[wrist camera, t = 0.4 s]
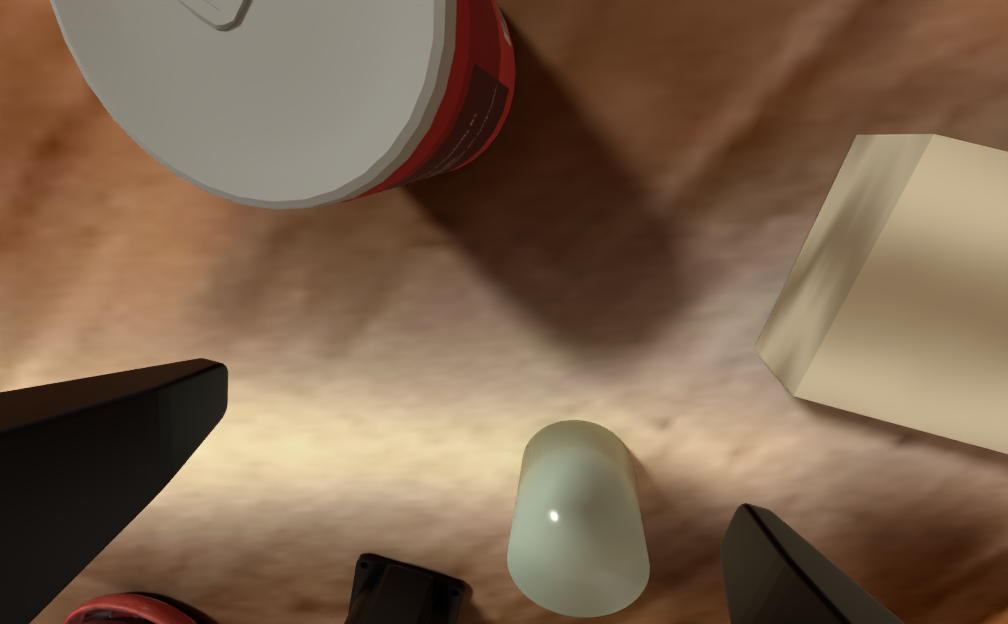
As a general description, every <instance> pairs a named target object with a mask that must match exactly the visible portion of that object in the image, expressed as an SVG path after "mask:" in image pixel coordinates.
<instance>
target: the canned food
mask: <svg viewBox="0 0 1008 624" xmlns="http://www.w3.org/2000/svg"><path fill="white" fill-rule="evenodd" d="M50 2H51V5H52V7H53V10H54V13H55V15H56V18H57V21H58V23H59V26H60V29H61V31H62V34H63V37H64V39H65V42H66V44H67V46H68V48H69V50H70V51H71V53H72V55H73V57H74V59H75V61H76V63H77V65H78V66H79V68H80V70H81V72H82V74H83V76H84V78H85V79H86V81H87V83H88V85H89V86H90V87H91V89H92V90H93V91H94V93H95V94H96V96H97V97H98V98H99V100H100V101H101V103H102V104H103V105H104V107H105V108H106V109H107V111H108V112H109V114H110V115H111V116H112V118H113V119H114V120H115V121H116V122H117V123H118V124H119V125H120V126H121V127H122V128H123V130H124V131H125V132H126V133H127V134H128V135H129V136H130V137H131V138H132V139H133V140H134V141H135V142H136V143H137V144H138V145H139V146H140V147H141V148H142V149H143V150H144V151H145V152H147V153H148V154H149V155H150V156H152V157H153V158H154V159H155V160H157V161H158V162H159V163H161V164H162V165H163V166H164V167H166V168H167V169H168V170H170V171H171V172H172V173H173V174H175V175H177V176H179V177H180V178H182V179H184V180H186V181H188V182H189V183H191V184H193V185H195V186H197V187H198V188H200V189H202V190H204V191H205V192H207V193H210V194H213V195H216V196H219V197H222V198H225V199H227V200H230V201H233V202H236V203H239V204H242V205H249V206H256V207H263V208H269V209H296V208H312V207H325V206H328V205H332V204H335V203H339V202H346V201H350V200H353V199H357V198H360V197H364V196H367V195H371V194H374V193H378V192H381V191H385V190H388V189H391V188H395V187H398V186H402V185H405V184H409V183H412V182H416V181H419V180H423V179H426V178H429V177H433V176H436V175H440V174H443V173H447V172H450V171H454V170H457V169H459V168H460V167H462V166H464V165H466V164H468V163H470V162H472V161H473V160H474V159H475V158H477V157H478V156H479V155H480V154H481V153H482V152H484V151H485V150H486V149H487V148H488V147H489V145H490V144H491V143H492V142H493V140H494V139H495V138H496V136H497V135H498V134H499V132H500V130H501V128H502V126H503V124H504V122H505V120H506V118H507V116H508V113H509V110H510V106H511V102H512V99H513V95H514V86H515V74H516V68H515V58H514V48H513V44H512V41H511V37H510V34H509V30H508V27H507V24H506V22H505V20H504V18H503V16H502V13H501V11H500V9H499V7H498V5H497V3H496V1H495V0H50Z"/></svg>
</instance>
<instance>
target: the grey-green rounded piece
mask: <svg viewBox="0 0 1008 624" xmlns="http://www.w3.org/2000/svg"><path fill="white" fill-rule="evenodd" d="M507 563H508V569H509V572H510V575H511V577H512V579H513V581H514V582H515V584H516V585H517V587H518V588H519V589H520V590H521V591H522V592H523V593H524V594H525V595H526V596H527V597H528V598H529V599H531V600H532V601H533V602H535V603H536V604H538V605H540V606H541V607H544V608H546V609H548V610H550V611H553V612H556V613H559V614H563V615H567V616H574V617H597V616H603V615H608V614H611V613H614V612H617V611H619V610H621V609H623V608H625V607H627V606H628V605H630V604H631V603H633V602H634V601H635V600H636V599H637V598H638V597H639V596H640V594H641V593H642V592H643V590H644V589H645V587H646V585H647V582H648V579H649V574H650V564H649V558H648V553H647V547H646V541H645V536H644V530H643V524H642V519H641V513H640V507H639V502H638V496H637V490H636V485H635V479H634V473H633V468H632V462H631V457H630V454H629V452H628V450H627V448H626V446H625V445H624V443H623V442H622V441H621V440H620V439H619V438H618V437H617V436H616V435H615V434H614V433H613V432H611V431H610V430H608V429H606V428H604V427H602V426H600V425H598V424H595V423H592V422H587V421H580V420H568V421H561V422H557V423H554V424H551V425H549V426H547V427H545V428H543V429H542V430H540V431H539V432H537V433H536V434H535V435H534V436H533V437H532V438H531V440H530V441H529V442H528V444H527V446H526V448H525V451H524V454H523V459H522V465H521V471H520V478H519V484H518V490H517V496H516V502H515V509H514V515H513V521H512V527H511V534H510V540H509V546H508V552H507Z"/></svg>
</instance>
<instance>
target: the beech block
mask: <svg viewBox="0 0 1008 624" xmlns="http://www.w3.org/2000/svg"><path fill="white" fill-rule="evenodd" d="M754 350H755V352H756V353H757V354H758V355H759V356H760V358H761V359H762V360H763V361H764V362H765V363H766V365H767V366H768V367H769V368H770V369H771V370H772V372H773V373H774V374H775V375H776V376H777V378H778V379H779V380H780V381H781V382H782V383H783V385H784V386H785V387H786V388H787V389H788V390H789V392H790V393H791V394H792V395H793V396H794V397H798V398H802V399H806V400H809V401H813V402H817V403H820V404H824V405H828V406H831V407H835V408H839V409H843V410H846V411H850V412H854V413H857V414H861V415H865V416H868V417H872V418H876V419H880V420H883V421H887V422H891V423H894V424H898V425H902V426H905V427H909V428H913V429H917V430H920V431H924V432H928V433H931V434H935V435H939V436H942V437H946V438H950V439H954V440H957V441H961V442H965V443H968V444H972V445H976V446H979V447H983V448H987V449H990V450H994V451H998V452H1002V453H1005V454H1008V152H1006V151H1002V150H998V149H994V148H989V147H985V146H981V145H977V144H973V143H969V142H965V141H960V140H956V139H952V138H948V137H944V136H940V135H935V134H896V135H856V137H855V139H854V142H853V144H852V146H851V148H850V150H849V152H848V154H847V156H846V158H845V160H844V162H843V165H842V167H841V169H840V171H839V173H838V175H837V177H836V179H835V181H834V183H833V185H832V187H831V190H830V192H829V194H828V196H827V198H826V200H825V202H824V204H823V206H822V208H821V210H820V213H819V215H818V217H817V219H816V221H815V223H814V225H813V227H812V229H811V231H810V233H809V235H808V238H807V240H806V242H805V244H804V246H803V248H802V250H801V252H800V254H799V256H798V258H797V261H796V263H795V265H794V267H793V269H792V271H791V273H790V275H789V277H788V279H787V281H786V283H785V286H784V288H783V290H782V292H781V294H780V296H779V298H778V300H777V302H776V304H775V306H774V309H773V311H772V313H771V315H770V317H769V319H768V321H767V323H766V325H765V327H764V329H763V331H762V334H761V336H760V338H759V340H758V342H757V344H756V346H755V348H754Z"/></svg>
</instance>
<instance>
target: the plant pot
mask: <svg viewBox="0 0 1008 624" xmlns="http://www.w3.org/2000/svg"><path fill="white" fill-rule="evenodd" d="M64 624H197V623H196V622H195V621H194V620H193V619H192V618H190V617H189V616H188V615H186V614H185V613H183V612H182V611H180V610H179V609H177V608H175V607H173V606H171V605H169V604H167V603H165V602H162V601H160V600H157V599H154V598H151V597H147V596H143V595H138V594H128V593H120V594H109V595H105V596H101V597H98V598H95V599H92V600H90V601H88V602H86V603H84V604H82V605H81V606H79V607H78V608H76V609H75V610H74V611H73V612H72V613H71V614H70V615H69V616H68V618H67V619H66V621H65V623H64Z"/></svg>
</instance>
